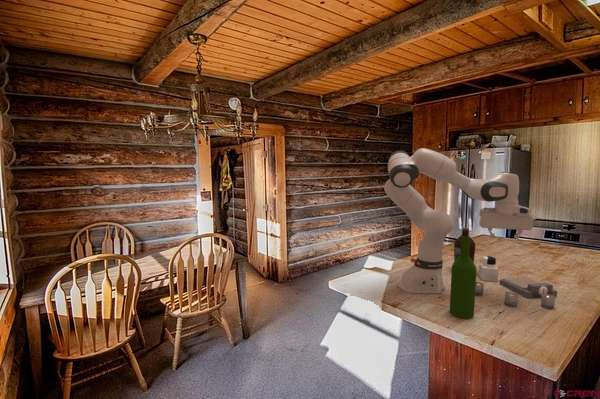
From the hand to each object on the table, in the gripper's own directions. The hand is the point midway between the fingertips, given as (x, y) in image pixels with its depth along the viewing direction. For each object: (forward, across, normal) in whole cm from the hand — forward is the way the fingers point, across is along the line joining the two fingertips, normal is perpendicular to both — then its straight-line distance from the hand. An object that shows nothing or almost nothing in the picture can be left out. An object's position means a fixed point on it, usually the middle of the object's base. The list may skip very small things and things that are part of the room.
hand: (504, 238), depth 144 cm
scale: (+28, +13, +12) cm, 33 cm away
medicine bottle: (+28, -1, +22) cm, 35 cm away
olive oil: (+27, -12, +30) cm, 42 cm away
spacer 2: (+27, +2, -9) cm, 29 cm away
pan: (+25, +13, +13) cm, 31 cm away
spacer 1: (+27, -10, -1) cm, 29 cm away
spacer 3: (+28, +16, -6) cm, 32 cm away
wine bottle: (+27, -19, -25) cm, 42 cm away
